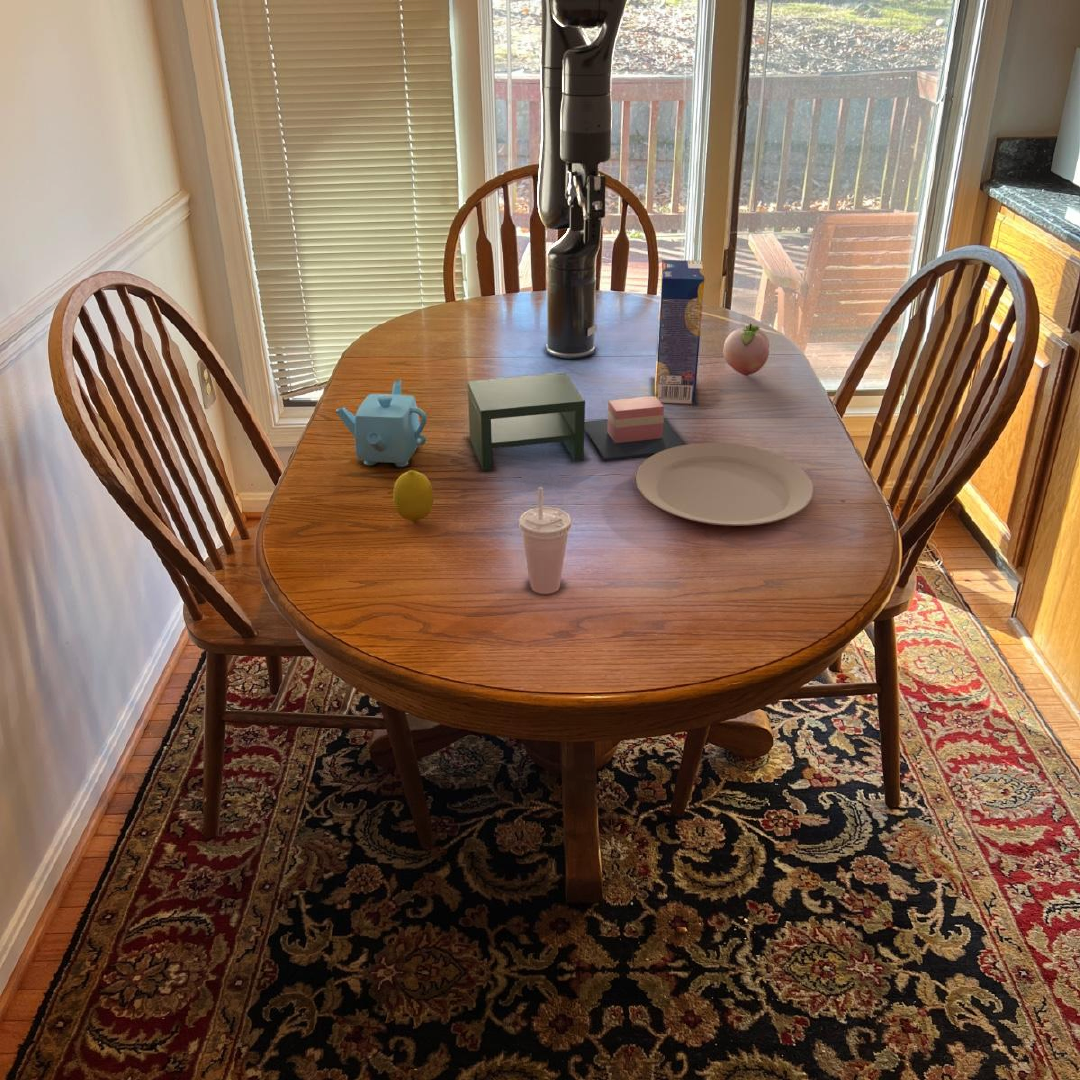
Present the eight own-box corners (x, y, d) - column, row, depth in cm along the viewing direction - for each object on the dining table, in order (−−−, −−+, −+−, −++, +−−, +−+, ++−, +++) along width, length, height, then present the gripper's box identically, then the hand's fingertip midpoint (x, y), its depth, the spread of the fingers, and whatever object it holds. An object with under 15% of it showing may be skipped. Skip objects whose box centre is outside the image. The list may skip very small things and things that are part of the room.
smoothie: (518, 573, 130) (516, 476, 123) (567, 570, 130) (569, 474, 123) (521, 601, 125) (520, 501, 117) (573, 598, 125) (575, 499, 118)
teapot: (417, 484, 151) (412, 422, 146) (325, 479, 153) (318, 418, 147) (440, 433, 167) (436, 375, 161) (357, 429, 168) (351, 372, 163)
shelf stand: (469, 438, 165) (467, 381, 160) (565, 428, 168) (565, 372, 163) (483, 471, 155) (480, 411, 150) (583, 460, 158) (585, 401, 153)
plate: (840, 528, 139) (842, 515, 138) (661, 544, 136) (661, 531, 135) (774, 448, 161) (775, 437, 160) (617, 461, 157) (618, 449, 156)
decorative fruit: (722, 365, 192) (727, 313, 187) (766, 368, 191) (772, 316, 186) (719, 383, 184) (724, 330, 179) (765, 386, 183) (771, 333, 178)
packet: (606, 432, 165) (607, 400, 163) (653, 427, 167) (655, 395, 164) (614, 443, 162) (615, 411, 159) (662, 438, 163) (664, 406, 160)
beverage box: (692, 380, 186) (701, 260, 174) (694, 404, 176) (704, 279, 165) (654, 378, 186) (661, 259, 175) (655, 402, 177) (662, 278, 166)
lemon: (441, 515, 143) (438, 464, 139) (424, 534, 139) (421, 482, 134) (405, 509, 145) (401, 459, 140) (388, 527, 140) (383, 476, 136)
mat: (580, 424, 169) (580, 421, 169) (660, 416, 172) (660, 413, 172) (604, 461, 157) (604, 458, 157) (689, 451, 160) (689, 449, 160)
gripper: (624, 133, 144) (620, 247, 152) (597, 117, 155) (594, 224, 164) (573, 135, 142) (571, 251, 151) (550, 119, 154) (549, 227, 162)
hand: (583, 237), depth 157 cm, fingers open, 8 cm apart
